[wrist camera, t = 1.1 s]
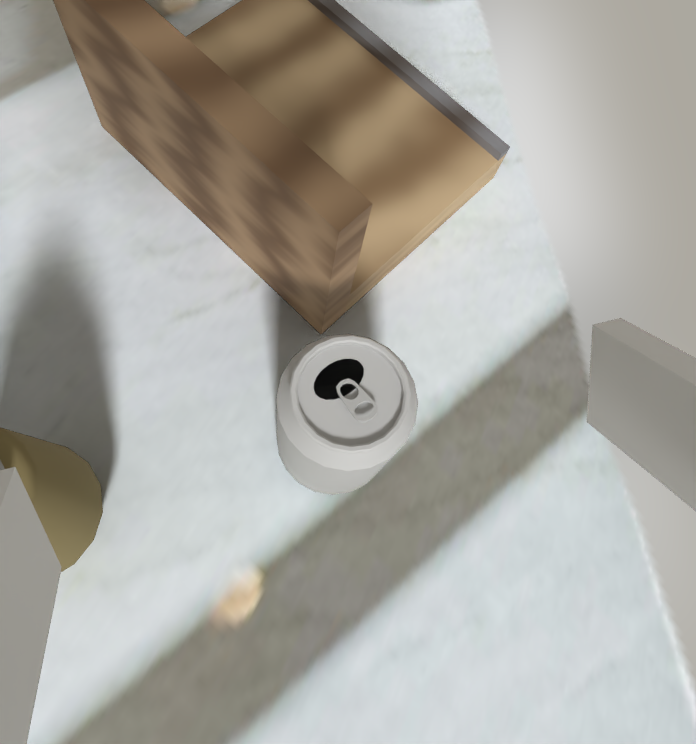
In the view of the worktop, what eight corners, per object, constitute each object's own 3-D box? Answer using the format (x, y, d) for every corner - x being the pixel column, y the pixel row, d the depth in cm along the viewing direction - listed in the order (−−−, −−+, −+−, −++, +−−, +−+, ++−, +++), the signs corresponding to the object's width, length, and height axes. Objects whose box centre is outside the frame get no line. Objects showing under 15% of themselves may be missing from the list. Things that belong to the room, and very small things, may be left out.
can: (344, 368, 44) (367, 296, 33) (407, 455, 43) (454, 410, 31) (255, 426, 42) (247, 370, 31) (318, 519, 41) (333, 496, 29)
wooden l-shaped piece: (102, 126, 48) (35, -44, 35) (287, 2, 54) (290, -184, 41) (321, 334, 45) (339, 232, 32) (493, 177, 51) (569, 35, 38)
